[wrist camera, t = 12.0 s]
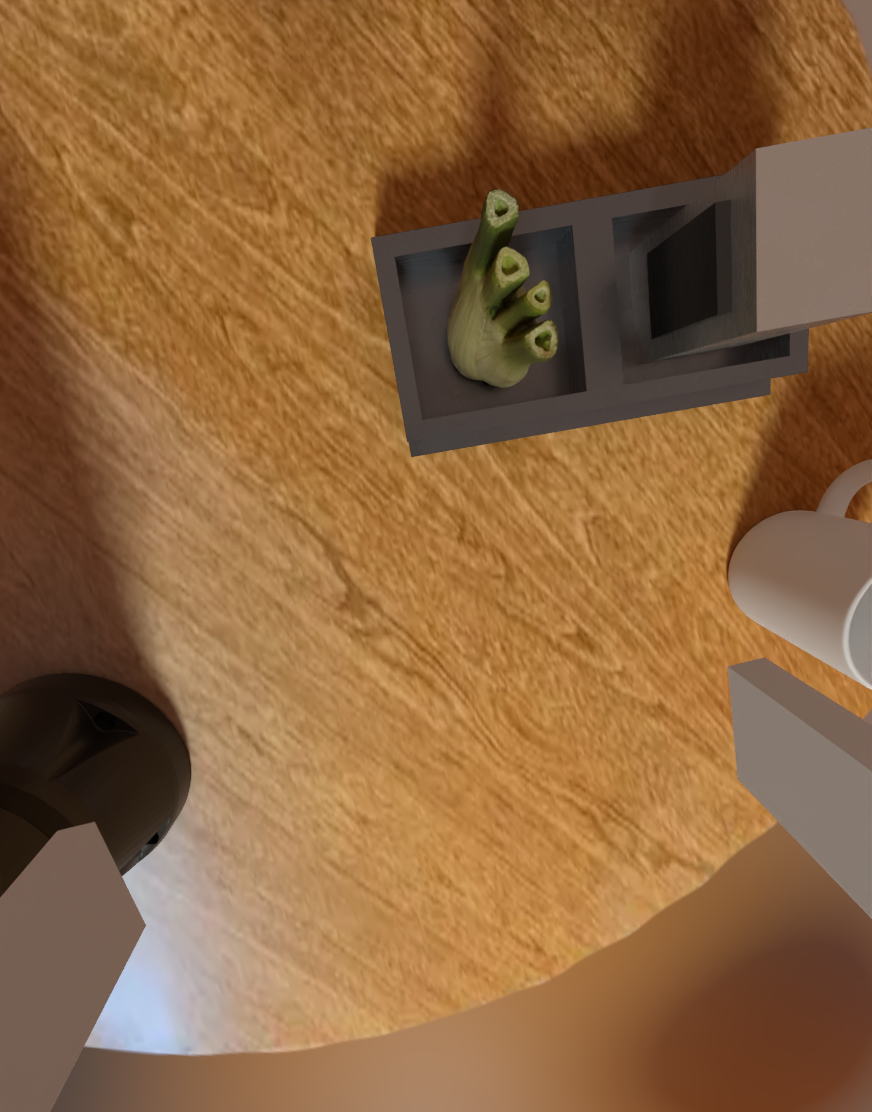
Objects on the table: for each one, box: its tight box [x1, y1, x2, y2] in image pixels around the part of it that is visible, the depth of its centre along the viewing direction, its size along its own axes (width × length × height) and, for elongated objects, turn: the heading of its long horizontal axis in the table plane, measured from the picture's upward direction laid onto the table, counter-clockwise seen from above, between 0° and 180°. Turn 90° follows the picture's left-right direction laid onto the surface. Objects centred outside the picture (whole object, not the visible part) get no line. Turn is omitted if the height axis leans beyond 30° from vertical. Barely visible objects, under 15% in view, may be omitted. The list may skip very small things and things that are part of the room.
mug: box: [728, 459, 872, 690], centre depth 29 cm, size 12×8×10 cm
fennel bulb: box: [447, 189, 559, 388], centre depth 23 cm, size 6×5×12 cm
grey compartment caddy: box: [371, 128, 872, 457], centre depth 24 cm, size 22×12×12 cm, turn 100°
